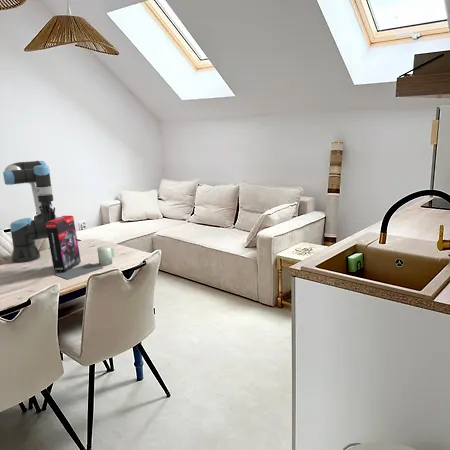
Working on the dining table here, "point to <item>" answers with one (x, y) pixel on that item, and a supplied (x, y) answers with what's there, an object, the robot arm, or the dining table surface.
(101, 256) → the sage mug
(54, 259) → the graphics card box
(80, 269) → the display mat
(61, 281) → the dining table surface
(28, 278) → the dining table surface
